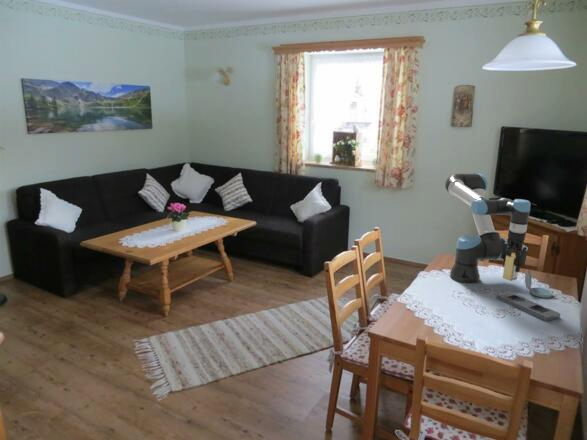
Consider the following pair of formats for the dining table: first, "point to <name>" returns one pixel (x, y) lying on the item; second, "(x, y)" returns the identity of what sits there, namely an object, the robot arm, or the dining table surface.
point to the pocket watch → (536, 291)
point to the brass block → (509, 267)
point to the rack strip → (528, 306)
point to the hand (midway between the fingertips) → (510, 275)
